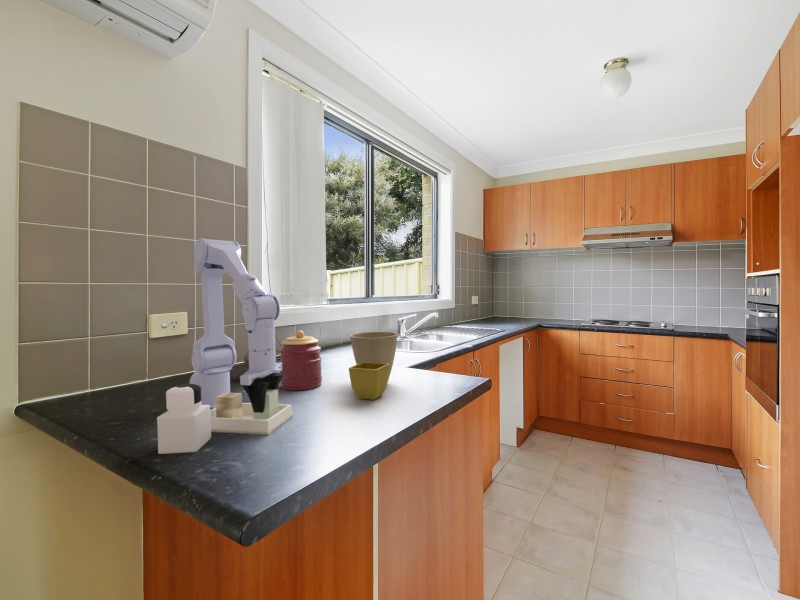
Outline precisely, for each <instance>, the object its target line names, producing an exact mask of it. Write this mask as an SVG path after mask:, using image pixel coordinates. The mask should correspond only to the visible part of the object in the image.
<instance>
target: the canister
mask: <svg viewBox="0 0 800 600" xmlns="http://www.w3.org/2000/svg"><path fill="white" fill-rule="evenodd" d="M318 343H319V339H317V338H315V337H314V336H312V335H311V336H310V335H305V332H304V331H303V330H301V329H299V330H297V331H296V332H295V336H289V337H286V338H285V339H284V340H282V341H281V344H282V346H281V348H279V350H278V352H279V353H280V359H279V361H278V362H280V363H282V371H280V372H279V374H283V378H282V379H281V381H280V383H279V386H280V388H281V389H282V390H286V391H306V390H307V391H308V390H312V389H315V388H318V387H320V386H321V385H322V382H323V375H322V357H321V355H320V353H321V352H320V351H321V350H322V347H321V346H320V345H319V344H318Z"/></svg>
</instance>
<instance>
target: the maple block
mask: <svg viewBox="0 0 800 600" xmlns="http://www.w3.org/2000/svg"><path fill="white" fill-rule="evenodd" d="M242 403H243V392H230V393H227V392H226V393H224V394H222V395H220V396H217V397H216V417H217V418H238V419H242V418H243V411H242Z"/></svg>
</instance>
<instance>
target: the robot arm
mask: <svg viewBox="0 0 800 600" xmlns="http://www.w3.org/2000/svg"><path fill="white" fill-rule="evenodd" d="M193 259H194V270H195V271H196V272H198V273H200V281H201V296H202V297H201V298H202V299H201V300H202V318H203V319H202V320H203V335H202V336H201V337H200V338H199V339H197V340H196V341H195V342H194V343H193V344H192V353H191V365H192V368H193V370H194V371H195V372H194V373H192V375H191V376H190V379H189V384H196V385H199V386H200V387H201V399H202V404H201V405H210V409H214V408H216V397H217V396H220V395H222V394H224V393H226V392H227V393H231V375H230V373H231V372H230V371H232V370H233V367H234V366H235V365H236V363H237V351H236V348H235V342H234V340H233V339H232V338H231V337H229V336H227V335H226V333H225V319H224V298H223V280H222V279H223V278H222V277H223V276H224V275H225V273H227V274H228V275H229V277H230V278H231V279H232V280H233V282H232V290H233V291H234V293H235V295H236V297H238V300H239V301H240V303H241V305H242V308H241V313H242V317H243V319H244V324H245V325H244V327H245V330H247V342H248V344H247V345H248V347H247V348H248V351H249V370H248V369H247V371H246V372H244V374H242V375H239V381H240V386H241V387H242V389H244V391H245V392H246V394H247V397H248V399H249V401H250V402H249V403H251V405H252V408H253V411H254V412H255V413H262V412H264V407H265V396H266V391H267V389H271V390H279V386H280V381H281V379H282V378H283V374H280V371H282V363H280V362H279V361H278V362H277V361H276V360H277V357H276V355H277V354H276V322H275V321H276V320H277V319H279V315H280V302H279V300H278V299H277V297H276V295H274V294H273V295H272V294H270V293H266V291H265V289H264V288H263V286H262V285H261V283H260V282H259V279H257V277H256V276H255V275H254V274H252V273H248V271H247V269H246V266H245V265H244V262H243V261H242V248H241V246H240V244H239V242H238V241H236V240H222V239H221V240H220V239H209V238H202V237H201V238H199V239H198V240H197V241H196V242H195V243H194V247H193Z"/></svg>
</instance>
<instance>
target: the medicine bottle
mask: <svg viewBox="0 0 800 600" xmlns="http://www.w3.org/2000/svg"><path fill="white" fill-rule="evenodd" d="M165 400H166V410H167V411H165V412H163V413H162V414H159V416H157V417H156V431H157V432H156V434H157V453H158V454H159V455H167V454H183V453H184V454H188V453H189V454H190V453H196V452H198V451H199V450H200V449H201V448H202V447H203V446H204V445H206V444H207V443H208V442H209V440H211V438H212V432H211V415H210V410H211V408H210V405H201V404H202V399H201V387H200V386H199V385H196V384H190V383H183V384H177V385H174V386H172V387H170V388H168V389H167V390H166V391H165Z"/></svg>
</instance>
